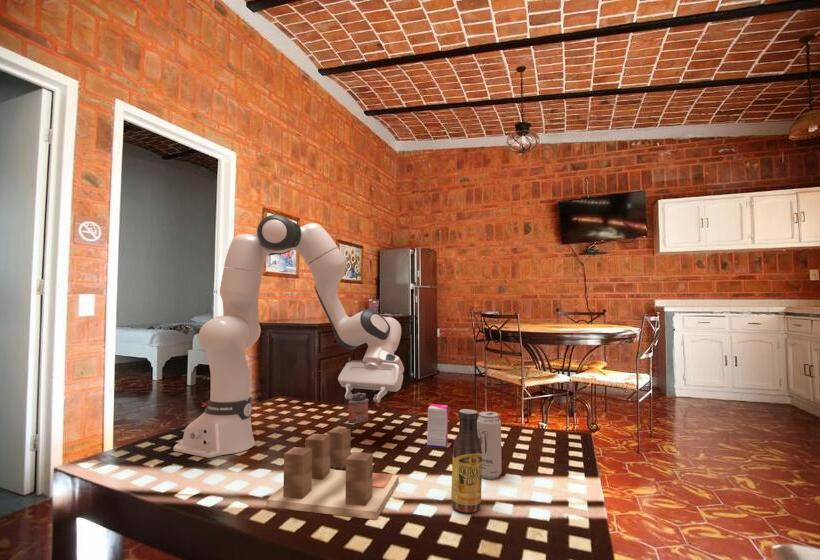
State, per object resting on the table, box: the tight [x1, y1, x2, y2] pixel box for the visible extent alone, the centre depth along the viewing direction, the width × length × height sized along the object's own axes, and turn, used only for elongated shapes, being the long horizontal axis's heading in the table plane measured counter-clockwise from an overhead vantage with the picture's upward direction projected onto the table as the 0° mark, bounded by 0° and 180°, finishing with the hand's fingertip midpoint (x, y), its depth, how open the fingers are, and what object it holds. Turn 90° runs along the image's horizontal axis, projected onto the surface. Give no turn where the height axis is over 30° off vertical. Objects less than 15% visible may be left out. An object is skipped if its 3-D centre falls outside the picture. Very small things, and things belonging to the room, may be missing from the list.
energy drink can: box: [477, 411, 503, 480], centre depth 106 cm, size 6×6×15 cm
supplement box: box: [426, 403, 449, 449], centre depth 128 cm, size 6×6×12 cm
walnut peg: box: [327, 426, 352, 470], centre depth 112 cm, size 4×4×9 cm
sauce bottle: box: [450, 408, 483, 514], centre depth 89 cm, size 7×6×20 cm
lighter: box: [347, 392, 369, 424], centre depth 154 cm, size 8×3×10 cm, turn 130°
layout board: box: [266, 433, 400, 520], centre depth 95 cm, size 24×18×10 cm
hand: (361, 399), depth 124 cm, fingers open, 8 cm apart
